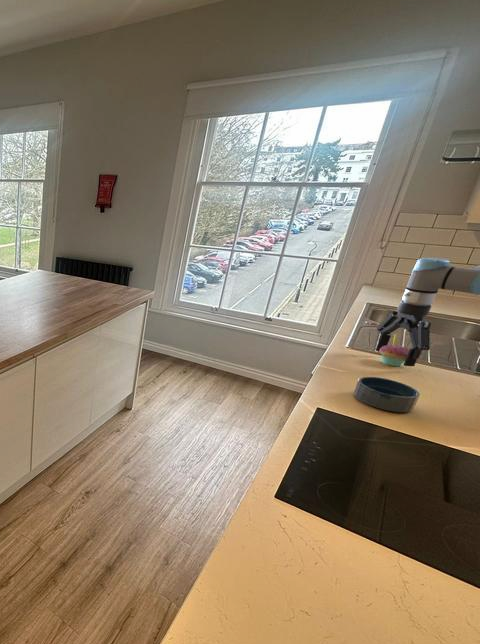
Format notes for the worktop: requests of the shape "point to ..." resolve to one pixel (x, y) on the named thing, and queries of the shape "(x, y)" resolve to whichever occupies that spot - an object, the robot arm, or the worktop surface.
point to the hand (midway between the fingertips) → (393, 358)
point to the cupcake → (394, 353)
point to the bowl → (386, 394)
